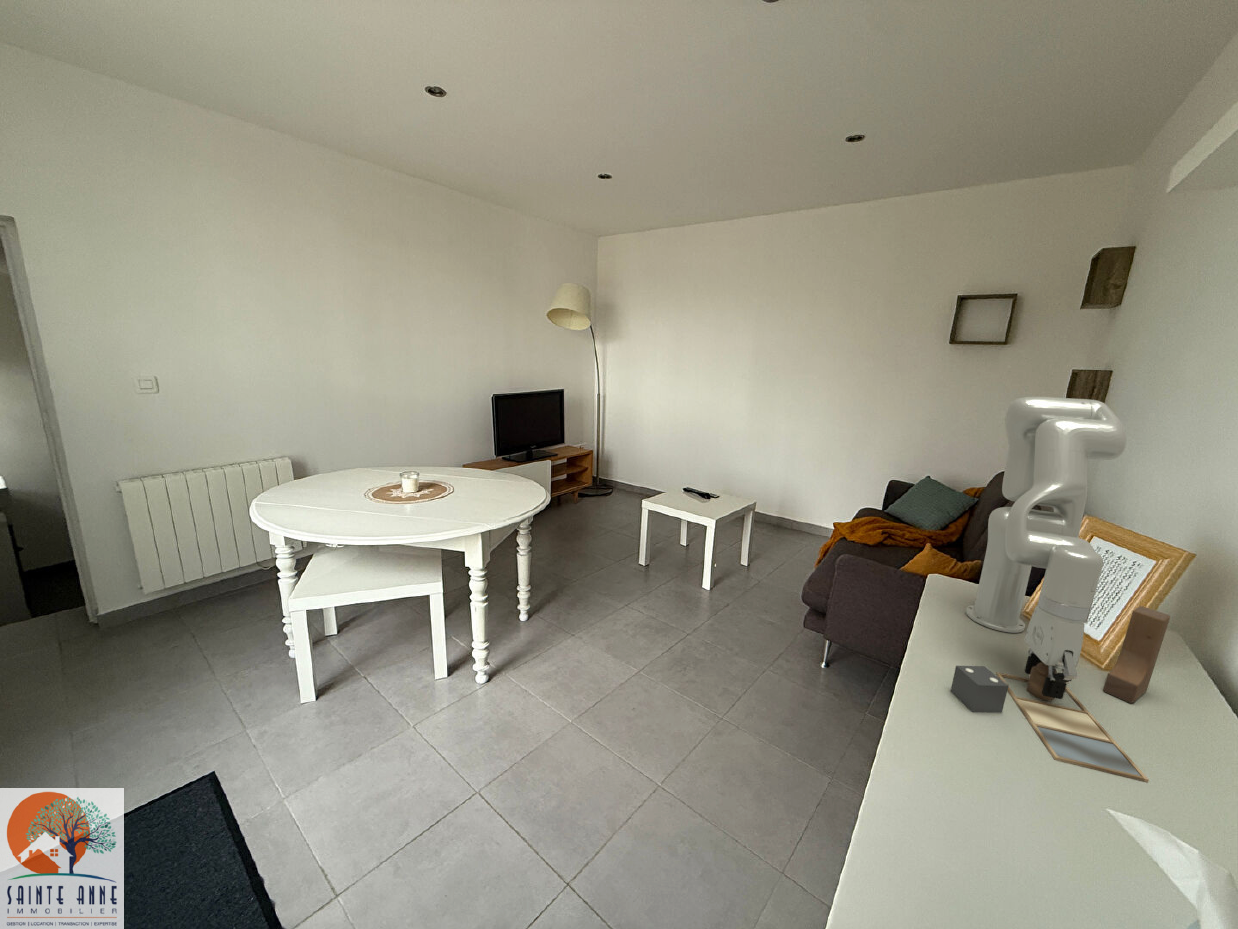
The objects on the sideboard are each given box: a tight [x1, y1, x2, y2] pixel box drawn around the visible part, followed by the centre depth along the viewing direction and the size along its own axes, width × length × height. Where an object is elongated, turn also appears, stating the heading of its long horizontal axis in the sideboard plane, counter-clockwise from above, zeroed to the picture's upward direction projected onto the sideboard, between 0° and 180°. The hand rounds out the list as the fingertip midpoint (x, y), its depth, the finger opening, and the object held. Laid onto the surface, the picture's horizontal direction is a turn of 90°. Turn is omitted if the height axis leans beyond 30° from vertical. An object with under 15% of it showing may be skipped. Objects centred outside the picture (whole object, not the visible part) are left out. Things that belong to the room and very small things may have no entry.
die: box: [950, 665, 1009, 713], centre depth 95 cm, size 6×6×6 cm
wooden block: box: [1102, 605, 1171, 704], centre depth 98 cm, size 9×4×18 cm, turn 119°
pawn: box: [1026, 662, 1058, 702], centre depth 98 cm, size 4×4×7 cm
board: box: [995, 671, 1150, 783], centre depth 91 cm, size 24×12×1 cm, turn 161°
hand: (1042, 684), depth 98 cm, fingers open, 6 cm apart
